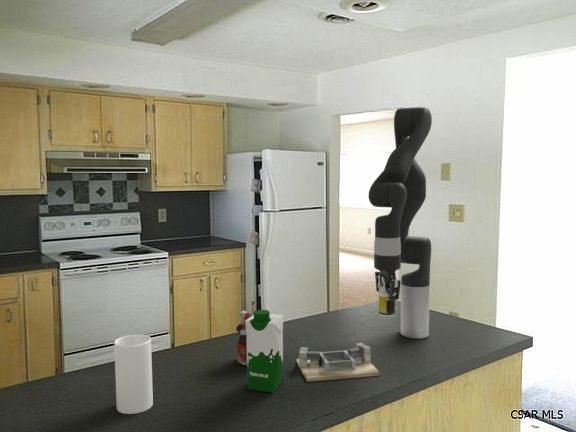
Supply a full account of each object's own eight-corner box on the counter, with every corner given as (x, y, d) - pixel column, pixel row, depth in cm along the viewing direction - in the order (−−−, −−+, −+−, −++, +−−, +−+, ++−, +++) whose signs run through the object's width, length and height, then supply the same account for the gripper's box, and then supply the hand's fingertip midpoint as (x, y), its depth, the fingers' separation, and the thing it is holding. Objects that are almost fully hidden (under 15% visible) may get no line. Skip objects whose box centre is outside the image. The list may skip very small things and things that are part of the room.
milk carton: (242, 390, 127) (241, 313, 125) (256, 376, 136) (255, 303, 134) (275, 395, 124) (274, 316, 122) (287, 380, 133) (286, 306, 131)
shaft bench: (295, 362, 146) (294, 345, 145) (363, 356, 149) (363, 340, 149) (305, 381, 132) (305, 363, 131) (380, 375, 136) (381, 357, 135)
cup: (121, 398, 123) (119, 334, 121) (155, 397, 124) (153, 333, 122) (112, 414, 115) (110, 346, 113) (149, 413, 115) (147, 345, 114)
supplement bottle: (395, 317, 143) (395, 288, 142) (378, 317, 144) (378, 288, 143) (395, 313, 147) (395, 284, 147) (378, 312, 148) (379, 284, 147)
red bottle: (277, 358, 148) (276, 299, 147) (262, 370, 140) (261, 307, 138) (245, 353, 153) (245, 295, 151) (229, 364, 144) (228, 303, 143)
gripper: (410, 256, 137) (409, 316, 139) (390, 247, 151) (389, 303, 153) (384, 257, 136) (383, 318, 138) (366, 249, 150) (366, 304, 152)
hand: (387, 310), depth 145 cm, fingers closed on supplement bottle, 4 cm apart
